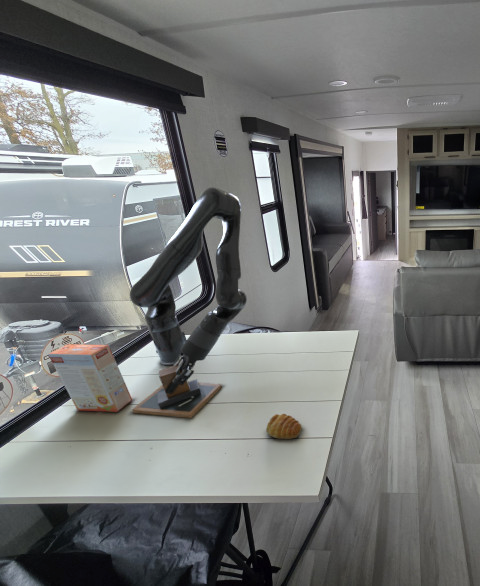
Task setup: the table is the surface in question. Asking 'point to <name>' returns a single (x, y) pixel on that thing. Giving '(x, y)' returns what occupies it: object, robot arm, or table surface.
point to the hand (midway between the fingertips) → (167, 388)
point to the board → (178, 403)
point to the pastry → (283, 427)
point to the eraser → (181, 391)
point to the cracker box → (91, 377)
